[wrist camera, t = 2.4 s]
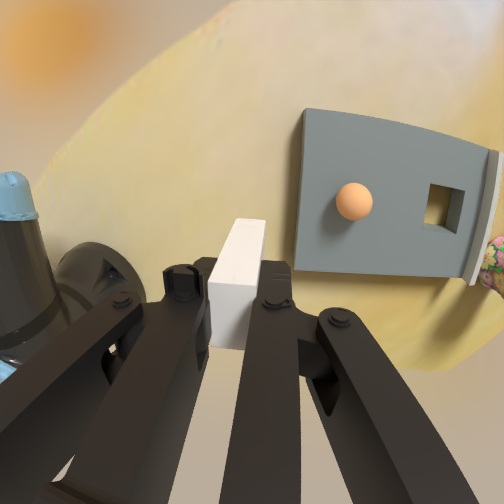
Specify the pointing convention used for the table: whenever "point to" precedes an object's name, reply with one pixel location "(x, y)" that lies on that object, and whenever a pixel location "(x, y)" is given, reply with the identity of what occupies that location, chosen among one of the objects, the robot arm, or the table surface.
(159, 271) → the table surface
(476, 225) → the board
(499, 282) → the mug
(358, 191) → the ball
